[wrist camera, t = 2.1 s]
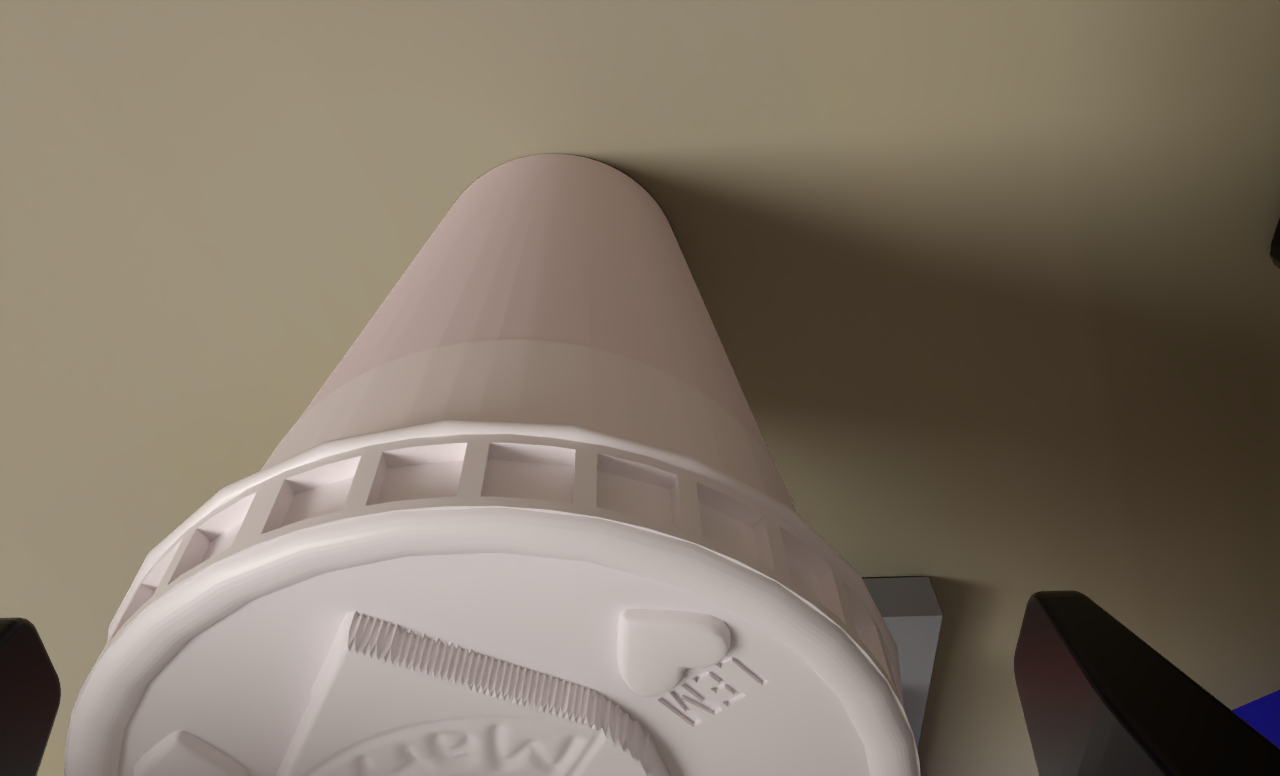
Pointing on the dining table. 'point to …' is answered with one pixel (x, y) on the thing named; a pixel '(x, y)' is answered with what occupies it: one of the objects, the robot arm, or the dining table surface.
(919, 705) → the socket plate
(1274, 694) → the cable clip
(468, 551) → the smoothie
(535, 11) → the dining table surface
